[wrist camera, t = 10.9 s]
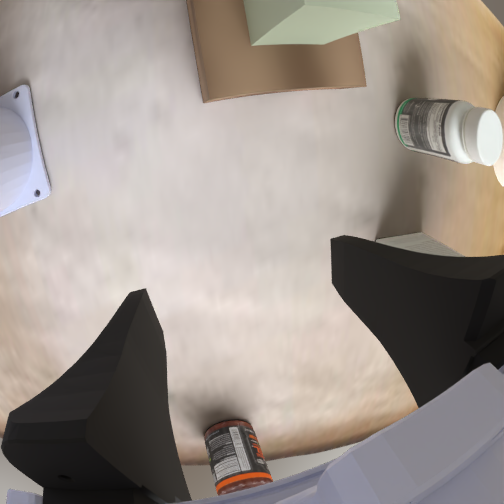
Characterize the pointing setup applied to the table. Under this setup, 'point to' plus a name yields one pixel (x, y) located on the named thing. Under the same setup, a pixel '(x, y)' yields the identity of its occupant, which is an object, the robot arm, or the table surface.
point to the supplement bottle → (235, 457)
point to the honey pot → (503, 163)
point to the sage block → (314, 19)
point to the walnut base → (264, 57)
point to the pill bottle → (450, 130)
